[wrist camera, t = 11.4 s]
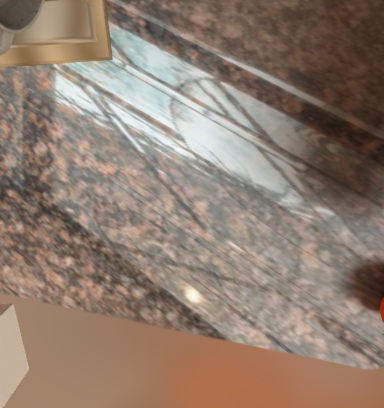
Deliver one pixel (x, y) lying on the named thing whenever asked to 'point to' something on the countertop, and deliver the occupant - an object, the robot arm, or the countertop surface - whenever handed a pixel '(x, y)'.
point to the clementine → (382, 309)
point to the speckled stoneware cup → (16, 19)
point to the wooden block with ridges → (63, 35)
